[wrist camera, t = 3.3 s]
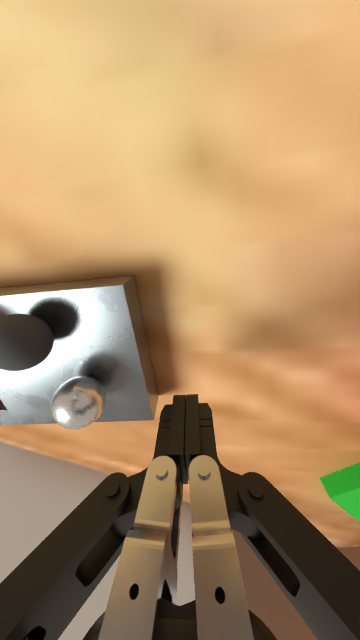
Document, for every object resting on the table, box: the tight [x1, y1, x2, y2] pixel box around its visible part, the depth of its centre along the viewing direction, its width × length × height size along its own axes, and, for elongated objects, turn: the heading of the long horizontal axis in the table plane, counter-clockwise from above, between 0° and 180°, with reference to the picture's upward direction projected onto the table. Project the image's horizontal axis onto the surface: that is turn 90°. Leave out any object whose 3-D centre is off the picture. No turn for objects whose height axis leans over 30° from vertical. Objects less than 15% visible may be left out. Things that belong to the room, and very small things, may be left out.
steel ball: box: [51, 376, 106, 429], centre depth 13 cm, size 3×3×3 cm
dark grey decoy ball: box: [0, 313, 54, 371], centre depth 11 cm, size 3×3×3 cm
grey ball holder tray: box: [0, 275, 158, 425], centre depth 15 cm, size 11×18×4 cm, turn 96°
